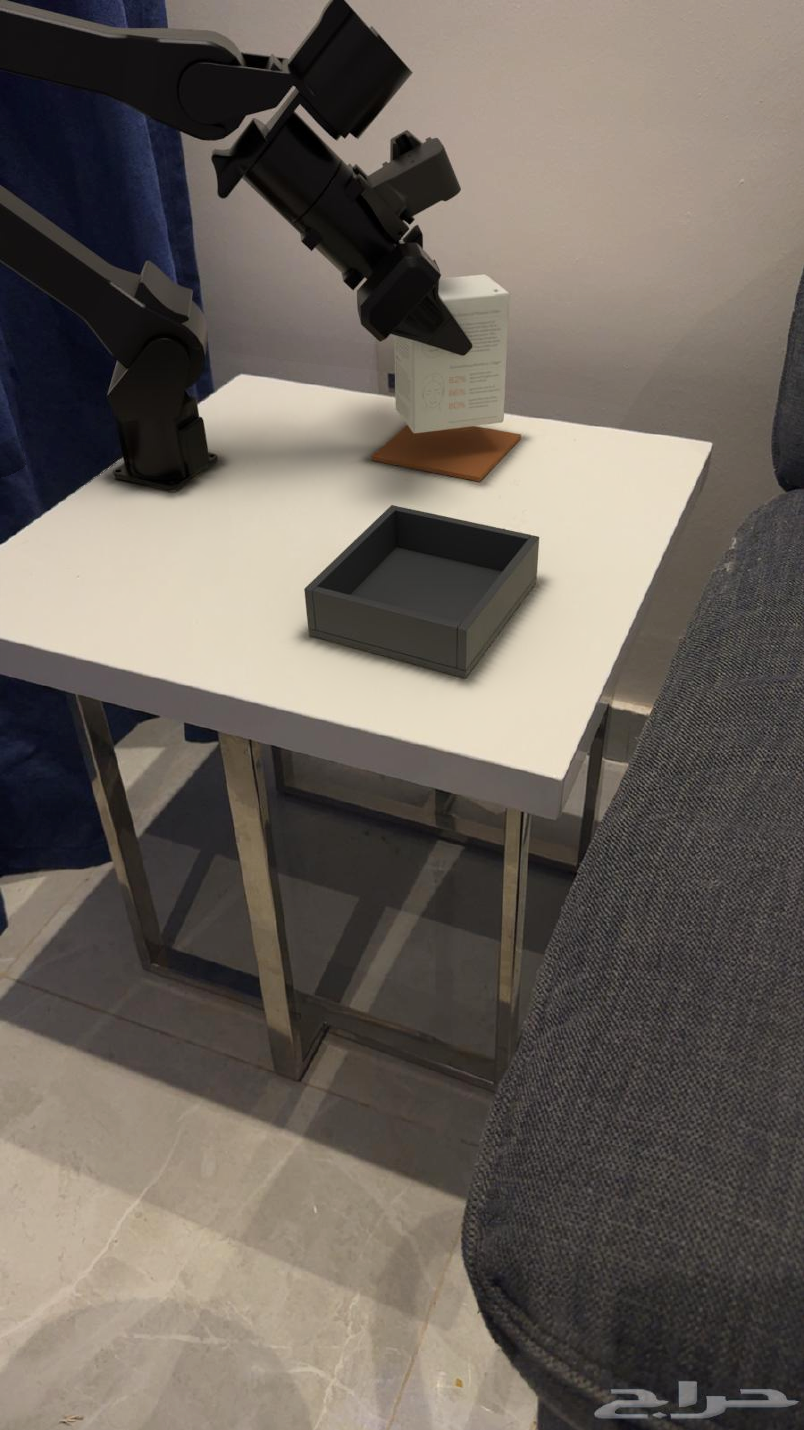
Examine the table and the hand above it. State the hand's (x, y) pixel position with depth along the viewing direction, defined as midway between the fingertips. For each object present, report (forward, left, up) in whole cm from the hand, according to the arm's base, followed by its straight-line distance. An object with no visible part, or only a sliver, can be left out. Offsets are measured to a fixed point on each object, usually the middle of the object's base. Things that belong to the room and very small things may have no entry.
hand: (462, 337), depth 83 cm
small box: (-1, -1, -7) cm, 7 cm away
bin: (+8, -24, -9) cm, 27 cm away
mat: (-1, -1, -9) cm, 10 cm away
